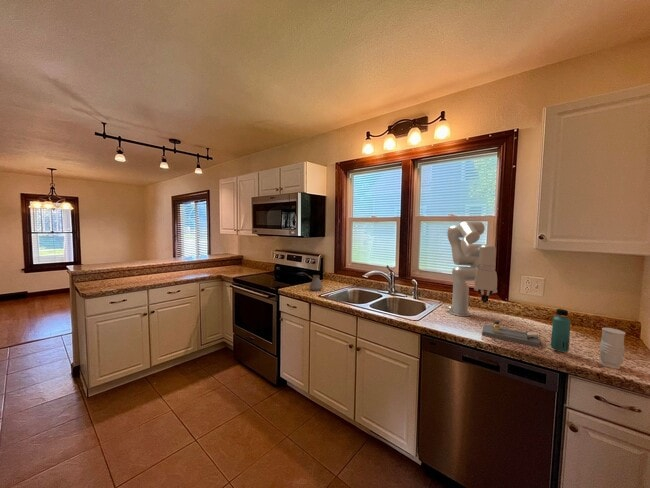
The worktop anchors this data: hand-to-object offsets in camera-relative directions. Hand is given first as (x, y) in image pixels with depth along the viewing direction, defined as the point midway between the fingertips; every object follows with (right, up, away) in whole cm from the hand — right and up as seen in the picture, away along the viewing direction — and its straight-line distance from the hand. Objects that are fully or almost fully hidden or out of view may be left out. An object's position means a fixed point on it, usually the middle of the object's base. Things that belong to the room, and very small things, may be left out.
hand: (484, 302), depth 142 cm
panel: (+12, -18, -2) cm, 21 cm away
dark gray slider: (+9, -15, +4) cm, 18 cm away
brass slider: (+5, -15, -2) cm, 16 cm away
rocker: (+19, -15, -8) cm, 26 cm away
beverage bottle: (+23, -19, -19) cm, 36 cm away
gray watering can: (-98, -9, +94) cm, 136 cm away
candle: (+35, -20, -30) cm, 50 cm away
